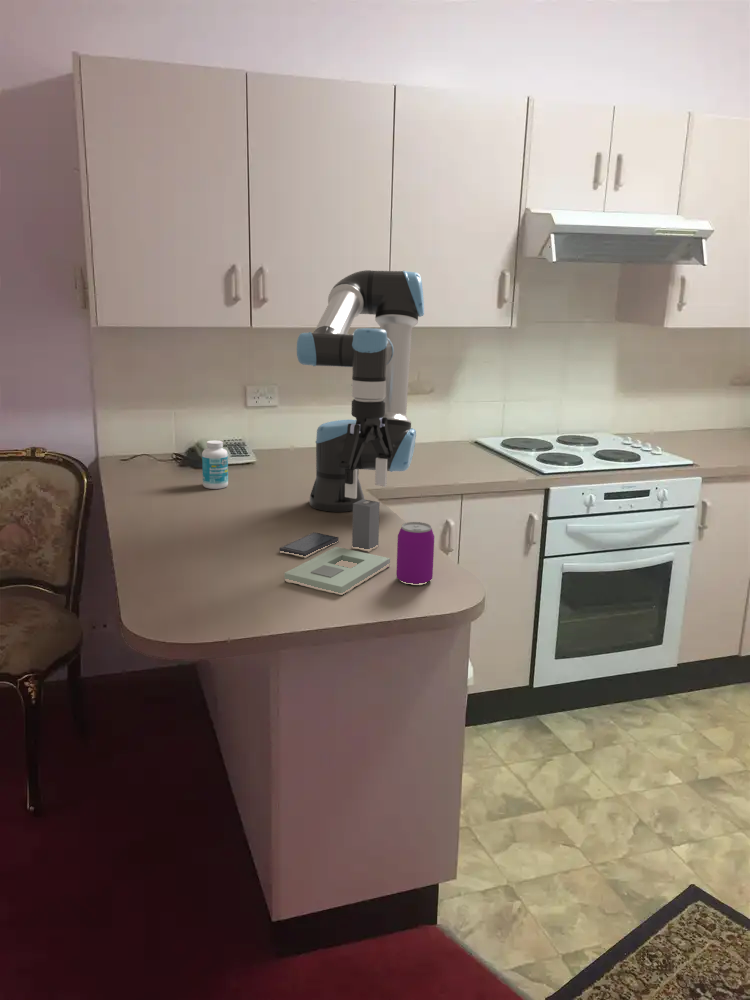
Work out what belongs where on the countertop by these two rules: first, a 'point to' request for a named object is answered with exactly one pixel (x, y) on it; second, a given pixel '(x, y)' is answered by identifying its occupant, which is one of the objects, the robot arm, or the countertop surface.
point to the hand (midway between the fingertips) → (366, 491)
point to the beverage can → (415, 553)
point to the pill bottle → (215, 465)
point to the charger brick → (365, 524)
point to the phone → (309, 544)
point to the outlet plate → (337, 569)
